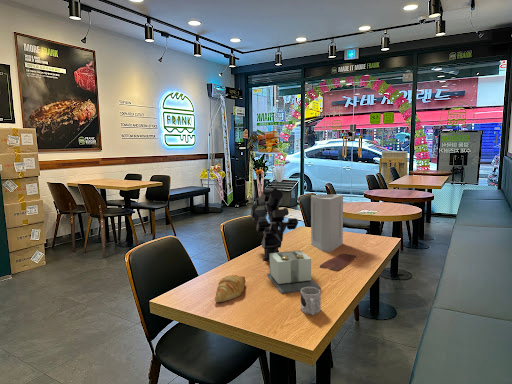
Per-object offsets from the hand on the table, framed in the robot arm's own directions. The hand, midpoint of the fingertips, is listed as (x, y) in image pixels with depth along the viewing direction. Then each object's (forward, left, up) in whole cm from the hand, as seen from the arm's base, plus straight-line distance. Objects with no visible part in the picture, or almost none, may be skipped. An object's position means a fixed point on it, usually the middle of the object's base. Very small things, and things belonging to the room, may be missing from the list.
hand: (281, 241), depth 151 cm
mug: (+28, -29, -14) cm, 43 cm away
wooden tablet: (+18, +25, -14) cm, 34 cm away
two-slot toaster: (+8, -7, -14) cm, 17 cm away
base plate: (+10, -9, -14) cm, 19 cm away
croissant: (-5, -31, -14) cm, 34 cm away
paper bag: (+1, +46, -14) cm, 48 cm away
